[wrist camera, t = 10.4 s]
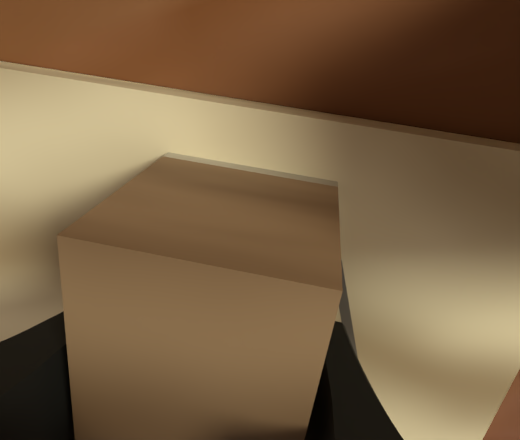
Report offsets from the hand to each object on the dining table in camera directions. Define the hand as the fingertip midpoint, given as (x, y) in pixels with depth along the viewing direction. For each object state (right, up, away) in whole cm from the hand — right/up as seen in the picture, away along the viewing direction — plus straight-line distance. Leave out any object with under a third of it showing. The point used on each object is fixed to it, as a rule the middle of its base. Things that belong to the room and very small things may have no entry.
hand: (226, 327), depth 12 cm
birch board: (0, +1, +2) cm, 2 cm away
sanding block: (0, 0, +1) cm, 1 cm away
